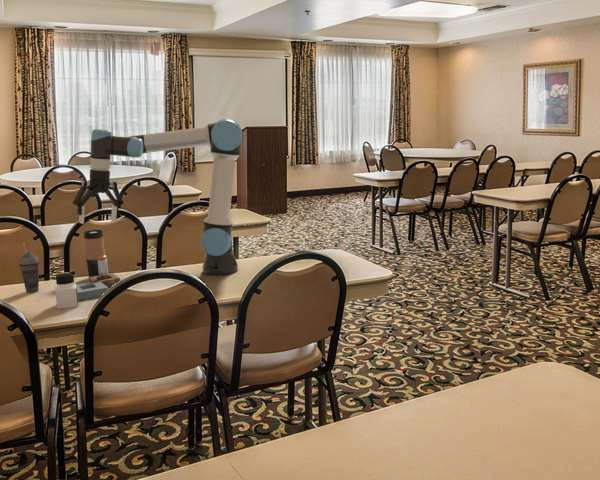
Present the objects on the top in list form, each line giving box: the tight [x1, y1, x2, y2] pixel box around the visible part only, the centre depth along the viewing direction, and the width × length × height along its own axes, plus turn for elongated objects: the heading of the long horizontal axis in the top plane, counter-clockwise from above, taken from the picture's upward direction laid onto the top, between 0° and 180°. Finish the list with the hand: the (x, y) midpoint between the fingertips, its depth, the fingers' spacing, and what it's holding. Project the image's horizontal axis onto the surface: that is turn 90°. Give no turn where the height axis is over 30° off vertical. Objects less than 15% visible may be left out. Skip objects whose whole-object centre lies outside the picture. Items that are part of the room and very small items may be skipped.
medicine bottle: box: [54, 271, 79, 310], centre depth 227 cm, size 7×7×12 cm
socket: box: [76, 281, 109, 302], centre depth 241 cm, size 12×12×3 cm
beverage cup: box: [18, 241, 40, 294], centre depth 246 cm, size 7×7×20 cm
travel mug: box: [83, 229, 106, 277], centre depth 265 cm, size 8×8×20 cm
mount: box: [88, 273, 121, 288], centre depth 254 cm, size 10×10×3 cm
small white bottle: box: [97, 254, 109, 280], centre depth 253 cm, size 4×4×12 cm
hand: (97, 222), depth 249 cm, fingers open, 13 cm apart
